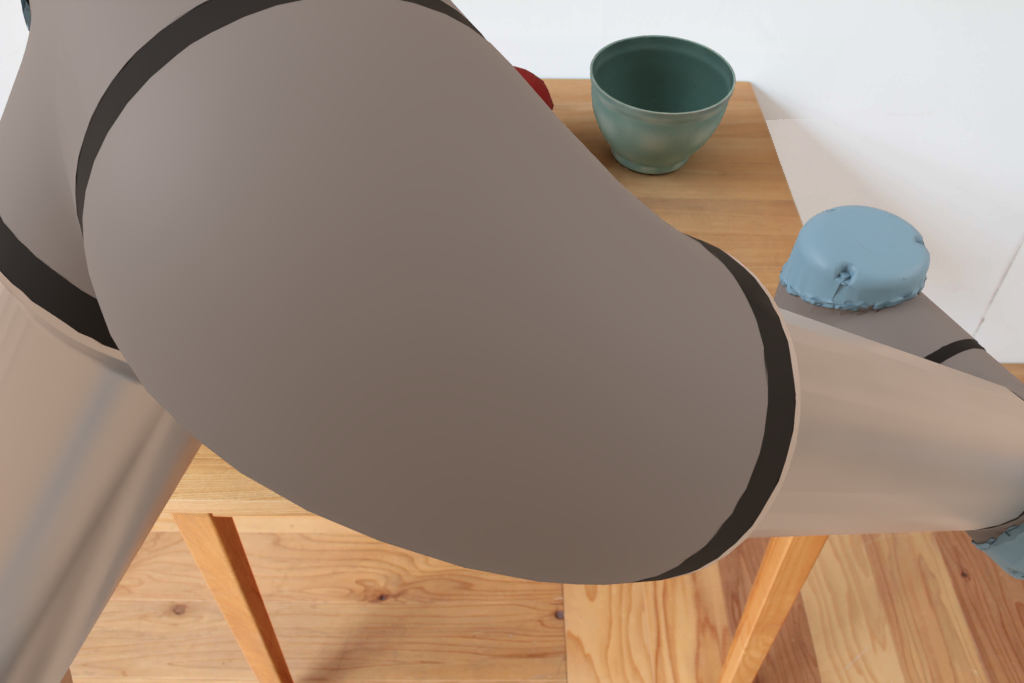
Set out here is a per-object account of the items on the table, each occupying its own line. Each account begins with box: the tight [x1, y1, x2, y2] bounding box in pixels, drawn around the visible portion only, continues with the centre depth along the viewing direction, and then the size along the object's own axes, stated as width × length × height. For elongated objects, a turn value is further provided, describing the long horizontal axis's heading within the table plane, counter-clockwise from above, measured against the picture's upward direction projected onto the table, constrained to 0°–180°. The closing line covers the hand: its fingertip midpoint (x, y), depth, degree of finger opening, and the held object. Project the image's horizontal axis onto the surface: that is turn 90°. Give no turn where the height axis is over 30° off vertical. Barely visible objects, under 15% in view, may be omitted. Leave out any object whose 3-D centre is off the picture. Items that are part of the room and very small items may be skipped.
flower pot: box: [589, 34, 737, 175], centre depth 99 cm, size 16×16×11 cm
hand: (409, 251), depth 71 cm, fingers closed on blue cup, 7 cm apart
